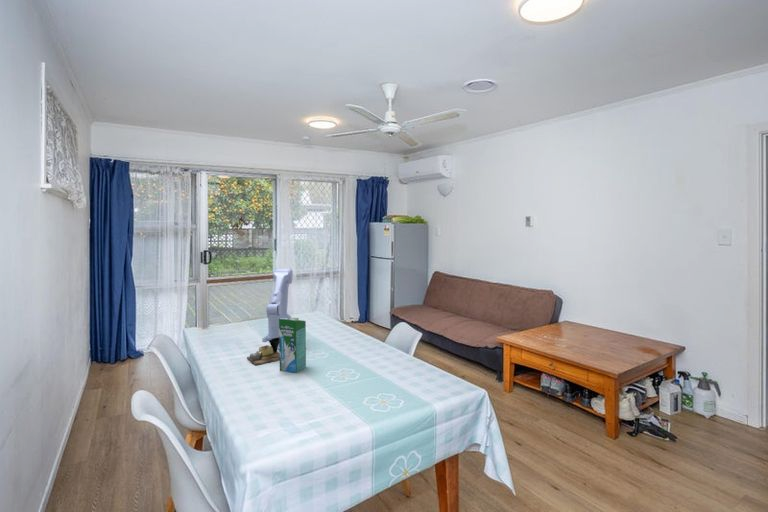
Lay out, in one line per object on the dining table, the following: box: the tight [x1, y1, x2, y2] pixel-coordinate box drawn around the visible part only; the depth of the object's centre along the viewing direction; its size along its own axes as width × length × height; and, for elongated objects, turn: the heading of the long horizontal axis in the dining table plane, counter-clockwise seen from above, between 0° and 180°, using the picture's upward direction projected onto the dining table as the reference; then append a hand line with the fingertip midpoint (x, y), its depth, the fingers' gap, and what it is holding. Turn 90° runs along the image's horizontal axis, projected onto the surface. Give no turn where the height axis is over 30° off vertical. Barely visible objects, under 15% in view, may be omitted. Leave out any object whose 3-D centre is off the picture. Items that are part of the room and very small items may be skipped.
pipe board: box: [246, 350, 280, 367], centre depth 203 cm, size 16×12×5 cm
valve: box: [258, 344, 274, 359], centre depth 203 cm, size 8×4×6 cm, turn 131°
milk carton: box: [278, 316, 307, 374], centre depth 189 cm, size 9×9×25 cm
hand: (274, 352), depth 205 cm, fingers closed, pressing on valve
